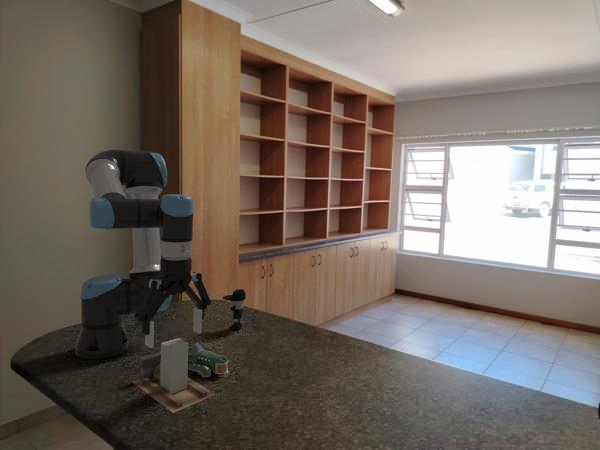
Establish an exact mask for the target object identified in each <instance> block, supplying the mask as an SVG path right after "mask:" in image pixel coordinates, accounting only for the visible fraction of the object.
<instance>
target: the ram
mask: <svg viewBox="0 0 600 450" xmlns="http://www.w3.org/2000/svg"><path fill="white" fill-rule="evenodd" d="M160 344H161V345H160V348H161V360H160V387H162V388H163V389H165V390H166V391H167V392H169V393H170V394H173V393H175V392H178V391H180V390H183V389H185V388H187V381H188V377H189V376H188V375H189V369H188V352H189V342H187V341H186V340H184V339H182V338H179V337H177V338H174V339H170V340H167V341H163V342H161V343H160Z"/></svg>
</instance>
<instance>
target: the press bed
mask: <svg viewBox="0 0 600 450" xmlns="http://www.w3.org/2000/svg"><path fill="white" fill-rule="evenodd" d="M160 360H161V352H159V351H158V352H155V353H152V354H151V353H150V354H148V355H144V356H141V357H139V370H138V371H139V373H138V374H139V379H137V380H134V381H132V383H133V384H134V385H135V386H136V387H138V388H139V389H141V390H142V391H143V392H144V393H146V394H147V395H148V396H150V397H151V398H152V399H153V400H155V401H156V402H158V403H159V404H160V405H161V406H163V407H165V409H167V410H168V411H170V412H171V413H172V414H175V413H177V412H179V411H181V410H184V409H186V408H188V407H190V406H193V405H195V404H199V403H200V402H203V401H204V400H207V399H210V398H211V397H213V396H217V395H216V393H214V392H212V391H211V390H209V389H208V388H206V387H205V386H202V385H201V384H200V383H199V382H197V381H195V380H194V379H192V378H190V377H189V376H188V381H187V388H185V389H183V390H180V391H178V392H175V393H173V394H170V393H169V392H167V391H166V390H165V389H163V388H162V387H160V381H157V380H156V379H155V378H154V375H153V372H154V369H155V368H156V367H157V366H158V365H160Z"/></svg>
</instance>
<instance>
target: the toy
mask: <svg viewBox="0 0 600 450" xmlns="http://www.w3.org/2000/svg"><path fill="white" fill-rule="evenodd" d="M246 298H247V296H246V292H245V289H241V288H238V289H235V290H234V291H233V292H232V294H229V295H228V294H227V295H224V296H222V299H223V300H225V301H228V302H230V310H231V311H232V312H233V315H232V319H231V320H232V323H231V326H230V327H229V329H230V330H234V331H239V330H241V328H242V327H243V324H242V322H241V320H242V318H243V316H244V306H245V300H246Z"/></svg>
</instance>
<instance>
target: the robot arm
mask: <svg viewBox="0 0 600 450" xmlns="http://www.w3.org/2000/svg"><path fill="white" fill-rule="evenodd" d="M84 171H85V177H86V180H87V182H89V184H90V185H91V187H92V190H93V191H92V192H93V195H94V198H91V200H90V201H89V224H90V227H92V228H93V229H99V230H100V229H102V230H103V229H104V230H112V229H113V230H115V229H116V230H117V229H118V230H119V229H132V230H131V231H132V257H133V268H131V270H129V272H128V278H124V277H123V275H122V274H120V273H114V274H113V273H108V274H107V273H106V274H101V275H97V276H94V277H91V278H88V279H86V280H85V281H84V282H83V283H82V285H81V292H80V300H81V309H80V310H81V318H80V319H81V321H80V322H81V324H80V325H81V328H80V332H79V334H78V337H77V339H76V342H75V346H74V349H75V350H74V353H75V354H74V355H75V356H76V357H78V358H81V359H84V360H102V359H103V360H105V359H108V358H113V357H116V356H119V355H122V354H123V353H125V352H126V351H127V350H128V349H129V338H128V335H127V333H126V329H125V327H124V323H123V319H124V318H123V317H124V316H130V315H133V318H134V319H135V320H137V321H138V322H141V325H142V326H141V332H142V334H143V335H144V336H145V337H144V345H145V346H147V348H149V349H154V347H155V345H154V344H155V343H154V342H155V337H154V336H155V321H154V320H153V318H154V317H155V315H156V314H157V312H162V311H166V310H167V309H168V308H169V306H170V304H171V301H172V297H173V296H176V295H177V294H178V295H180V294H184V293H185V294H186V296H187V297H189V299H190V300H191V301H192V302H193V303H194V305H195V306H196V307H193V321H192V322H193V324H192V325H193V328H192V330H193V331H192V332H194V333H196V334H198V335H200V334H202V333H203V332H202V326H203V320H205V310H207V309H208V306H210V305H212V301H211V298H210V297H209V294H208V292H207V288H206V287H205V284H204V282H203V276H202V273H200V272H198V271H193V272H192V267H193V258H192V257H191V256H192V255H193V234H194V233H193V231H194V230H193V228H194V227H193V226H194V212H195V209H194V198H193V197H192V196H191V195H188V194H179V193H178V194H175V193H174V194H173V193H170V194H163V195H162V197H161V198H159V195H160V194H161V193H162V192H163V188H164V187H166V186H167V184H168V169H167V164H166V161H165V159H164V157H163V155H162V154H160V153H157V152H150V151H138V150H136V151H135V150H125V149H123V150H122V149H106V150H104V151H100V152H99V153H97V154H95V155H93V157H92V158H90V159H89V160H88V162H87V163H86V165H85V170H84ZM123 186H125V190H124V188H123ZM125 192H126V193H127V194H128V195H130V198H128V197H127V196H126V194H125ZM191 282H193V285H194V287H195V288H196V291H197V293H198V295H199V296H198V295H197V294H196V292H195V291H194V289H193V288H192V287H191V286H190V284H191Z"/></svg>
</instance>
